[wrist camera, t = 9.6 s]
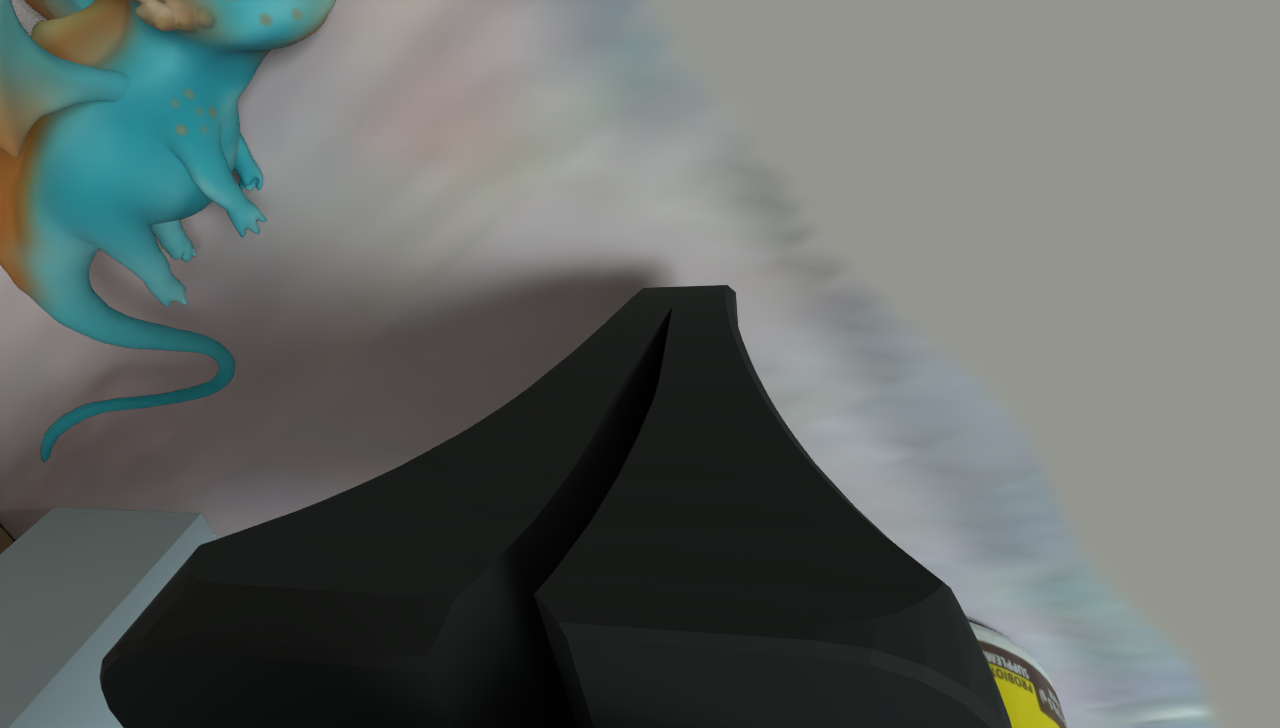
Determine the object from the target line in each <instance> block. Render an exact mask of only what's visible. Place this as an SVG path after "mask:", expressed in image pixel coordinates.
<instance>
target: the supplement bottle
mask: <svg viewBox="0 0 1280 728" xmlns="http://www.w3.org/2000/svg"><path fill="white" fill-rule="evenodd" d="M969 624H970V626H971V628H972V630H973V632H974V633H975V636H976V638H977V640H978V642H979V644H980V646H981V648H982V651H983V653H984V655H985V657H986V659H987V661H988V664H989V666H990V668H991V671H992V673H993V676H994V678H995V681H996V683H997V686H998V688H999V691H1000V694H1001V696H1002V699H1003V702H1004V705H1005V707H1006V710H1007V713H1008V716H1009V718H1010V722H1011V725H1012V728H1067V726H1066V722H1065V719H1064V716H1063V712H1062V709H1061V706H1060V703H1059V700H1058V697H1057V695H1056V692H1055V689H1054V687H1053V685H1052V683H1051V681H1050V679H1049V677H1048V676H1047V674H1046V672H1045V671H1044V670H1043V668H1042V667H1041V666H1040V665H1039V663H1038V662H1037V661H1036V660H1035V659H1034V658H1033V657H1032V656H1031V655H1030V654H1029V653H1028V652H1027V651H1025V650H1024V649H1023V648H1022V647H1020V646H1019V645H1017V644H1016V643H1014V642H1013V641H1011V640H1009V639H1008V638H1006V637H1004V636H1002V635H1001V634H999V633H997V632H994V631H992V630H990V629H988V628H985V627H982V626H980V625H977V624H974V623H971V622H969Z"/></svg>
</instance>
